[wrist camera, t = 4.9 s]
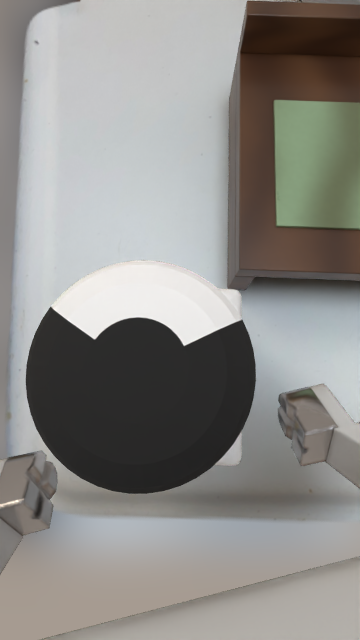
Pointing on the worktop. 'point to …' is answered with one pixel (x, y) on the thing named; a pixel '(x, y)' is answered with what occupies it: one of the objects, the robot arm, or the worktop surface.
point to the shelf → (295, 144)
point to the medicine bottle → (142, 377)
